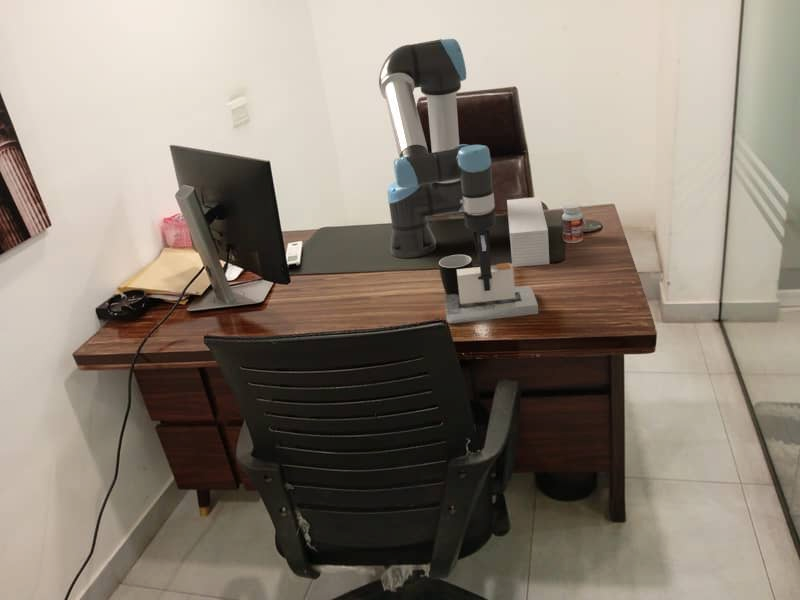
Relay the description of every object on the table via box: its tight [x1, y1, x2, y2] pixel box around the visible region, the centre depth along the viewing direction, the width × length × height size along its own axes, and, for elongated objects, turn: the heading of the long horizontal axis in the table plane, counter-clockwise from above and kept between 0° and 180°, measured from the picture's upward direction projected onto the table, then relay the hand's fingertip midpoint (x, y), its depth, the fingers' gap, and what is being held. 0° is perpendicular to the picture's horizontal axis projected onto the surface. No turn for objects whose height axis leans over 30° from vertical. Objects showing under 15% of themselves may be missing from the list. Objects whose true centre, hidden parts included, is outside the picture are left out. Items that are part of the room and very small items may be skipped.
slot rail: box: [443, 285, 539, 325], centre depth 174 cm, size 12×23×2 cm, turn 89°
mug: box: [438, 254, 474, 295], centre depth 184 cm, size 12×9×10 cm
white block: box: [457, 262, 515, 308], centre depth 172 cm, size 4×14×10 cm, turn 88°
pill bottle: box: [561, 202, 584, 244], centre depth 207 cm, size 6×6×11 cm
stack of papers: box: [506, 196, 550, 268], centre depth 208 cm, size 32×11×11 cm, turn 173°
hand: (487, 296), depth 173 cm, fingers closed on white block, 4 cm apart
